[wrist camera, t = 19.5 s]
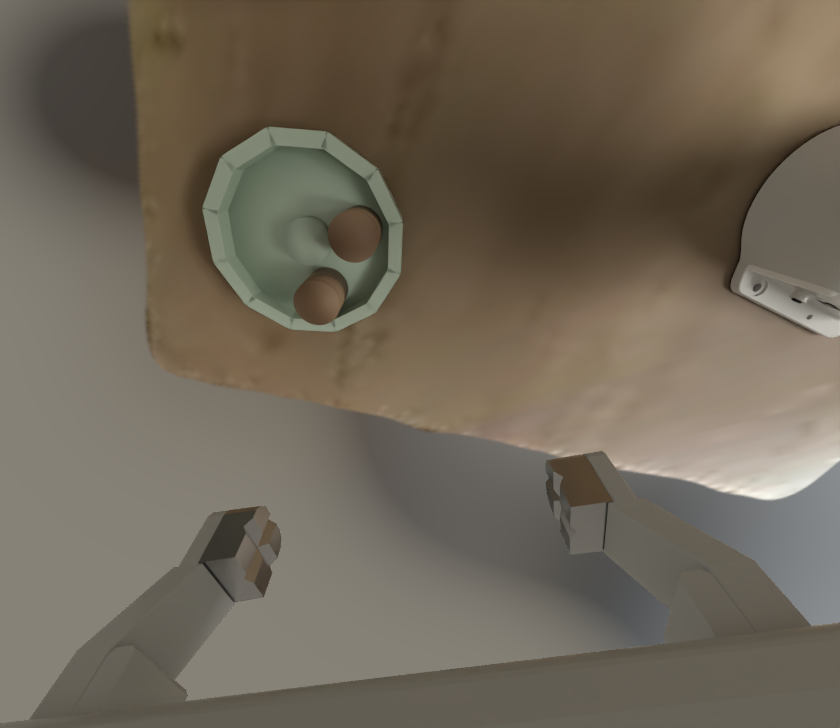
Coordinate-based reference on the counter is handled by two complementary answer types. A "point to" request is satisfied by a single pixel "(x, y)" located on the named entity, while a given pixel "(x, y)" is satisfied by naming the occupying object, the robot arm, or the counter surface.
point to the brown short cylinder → (321, 296)
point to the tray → (298, 222)
